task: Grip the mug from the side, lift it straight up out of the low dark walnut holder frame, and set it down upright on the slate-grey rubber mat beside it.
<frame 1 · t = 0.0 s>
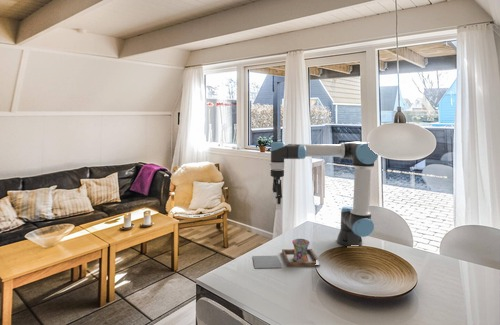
hand: (276, 206, 167), 28 cm above the table, tool pointing down, fingers open, 13 cm apart
holder frame: (300, 259, 163), on the table
mat: (266, 262, 159), on the table
mug: (300, 259, 163), resting in holder frame
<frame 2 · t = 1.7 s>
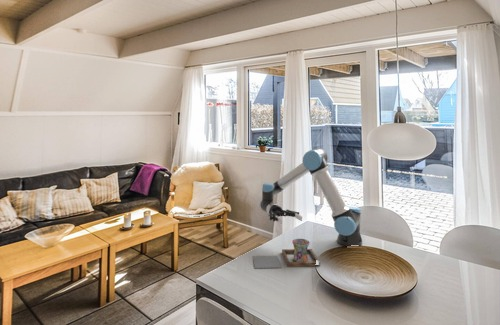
hand: (291, 220, 169), 20 cm above the table, tool horizontal, fingers open, 13 cm apart
nothing on the table moved.
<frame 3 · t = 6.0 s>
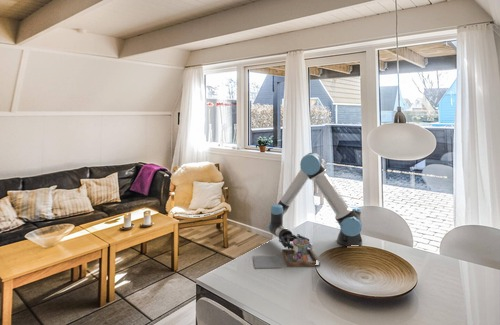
hand: (304, 248, 157), 8 cm above the table, tool horizontal, fingers open, 9 cm apart
mug: (300, 259, 163), resting in holder frame, touching gripper
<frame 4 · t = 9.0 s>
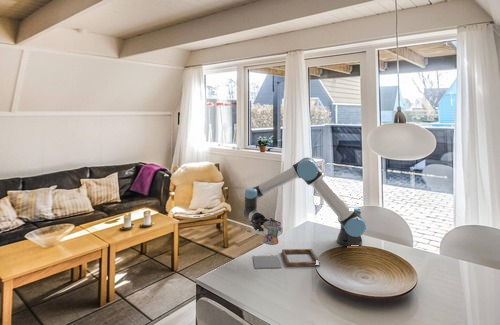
hand: (274, 230, 153), 19 cm above the table, tool horizontal, fingers closed on mug, 8 cm apart
mug: (270, 242, 159), point 11 cm above the table, touching gripper
when the fingers open (10 cm above the table, at t = 11.6 s): mug drops 1 cm, resting on mat.
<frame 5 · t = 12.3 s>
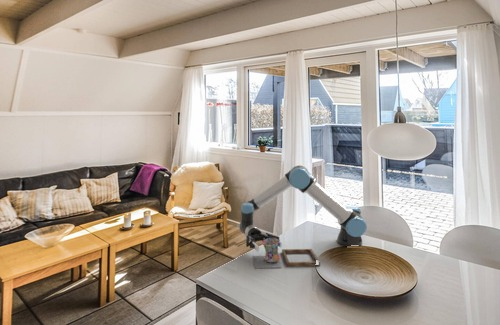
hand: (269, 247, 154), 10 cm above the table, tool horizontal, fingers open, 13 cm apart
mug: (272, 259, 161), point 1 cm above the table, touching gripper, mat
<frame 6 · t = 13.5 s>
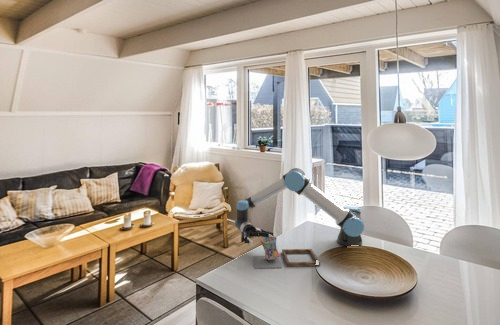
hand: (263, 242, 160), 10 cm above the table, tool horizontal, fingers open, 13 cm apart
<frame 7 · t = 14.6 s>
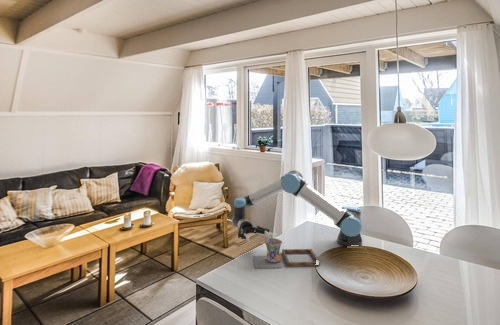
hand: (259, 238, 166), 10 cm above the table, tool horizontal, fingers open, 13 cm apart
mug: (272, 259, 161), resting on mat
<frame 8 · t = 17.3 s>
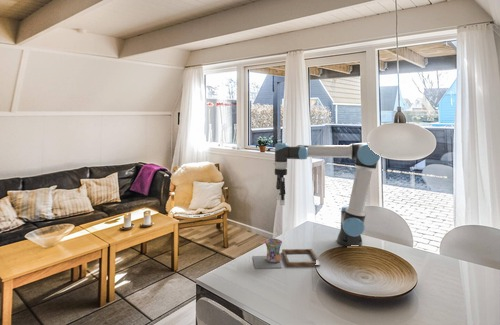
hand: (280, 202, 181), 27 cm above the table, tool pointing down, fingers open, 13 cm apart
nothing on the table moved.
at the end: mug inside the target area on the mat (4.4 cm from its centre), point 0.3 cm above the mat's base; mug tilted 0°; the gripper is holding nothing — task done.
